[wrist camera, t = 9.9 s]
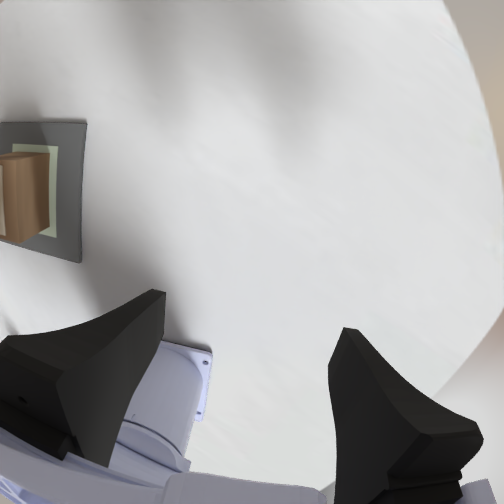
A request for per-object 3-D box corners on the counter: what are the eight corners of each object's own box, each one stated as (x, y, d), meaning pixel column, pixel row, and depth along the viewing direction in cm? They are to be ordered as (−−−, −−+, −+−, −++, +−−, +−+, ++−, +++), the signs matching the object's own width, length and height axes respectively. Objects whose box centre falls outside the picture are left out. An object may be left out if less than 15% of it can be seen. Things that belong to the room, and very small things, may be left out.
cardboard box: (49, 153, 20) (15, 160, 16) (49, 226, 22) (18, 244, 19) (16, 151, 20) (-18, 159, 16) (17, 219, 23) (-13, 235, 19)
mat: (81, 261, 24) (78, 263, 23) (2, 239, 24) (-1, 240, 23) (87, 123, 20) (83, 123, 19) (1, 122, 20) (-2, 122, 19)
